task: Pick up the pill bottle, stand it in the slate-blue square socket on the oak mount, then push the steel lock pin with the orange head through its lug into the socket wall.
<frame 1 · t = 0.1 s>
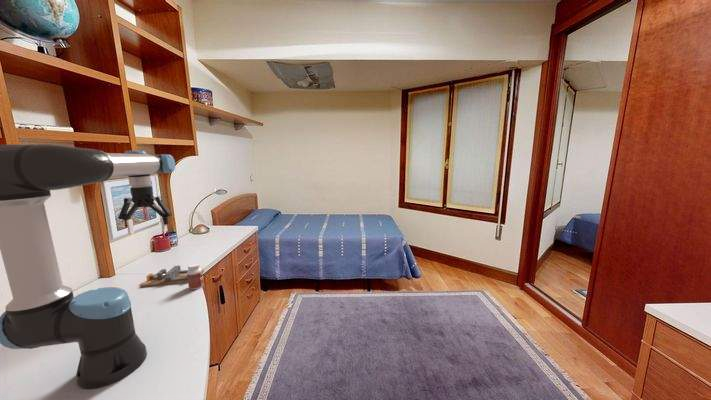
hand: (148, 232, 117), 28 cm above the table, fingers open, 13 cm apart
pill bottle: (196, 287, 124), on the table
mount: (185, 277, 134), on the table
pin: (156, 276, 131), point 2 cm above the table, slide at 0.0 cm
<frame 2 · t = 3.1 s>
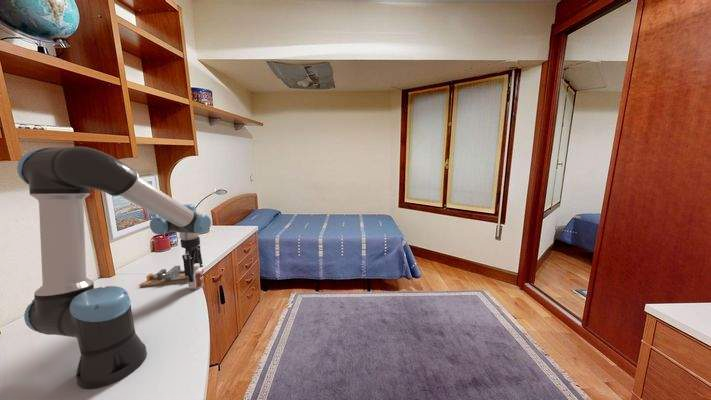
hand: (196, 283, 123), 1 cm above the table, fingers closed on pill bottle, 6 cm apart
pill bottle: (196, 287, 124), on the table, touching gripper
everything else where it was.
when the fingers open (4 cm above the table, at t = 7.6 s): pill bottle drops 1 cm, resting on mount.
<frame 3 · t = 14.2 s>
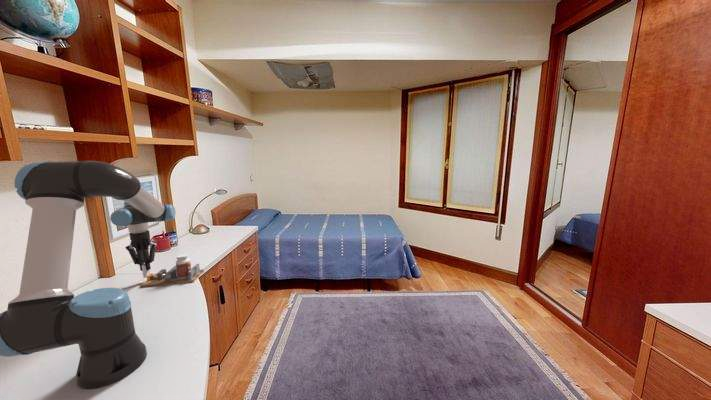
hand: (146, 276, 130), 3 cm above the table, fingers closed
pill bottle: (185, 276, 133), point 1 cm above the table, touching mount
pin: (157, 276, 131), point 2 cm above the table, slide at 0.1 cm, touching gripper
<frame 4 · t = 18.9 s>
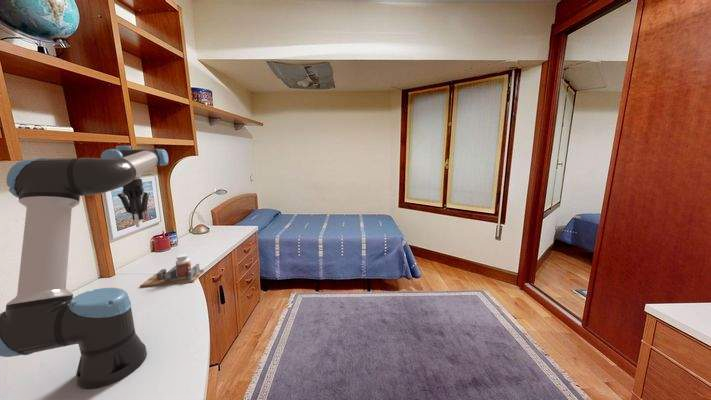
hand: (139, 226, 128), 28 cm above the table, fingers closed
pin: (165, 275, 132), point 2 cm above the table, slide at 4.2 cm, touching mount
everything else where it was.
at the end: pill bottle 0.0 cm off-centre on the mount, point 0.8 cm above the mount's base; pill bottle tilted 0°; pin slide at 4.2 cm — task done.
